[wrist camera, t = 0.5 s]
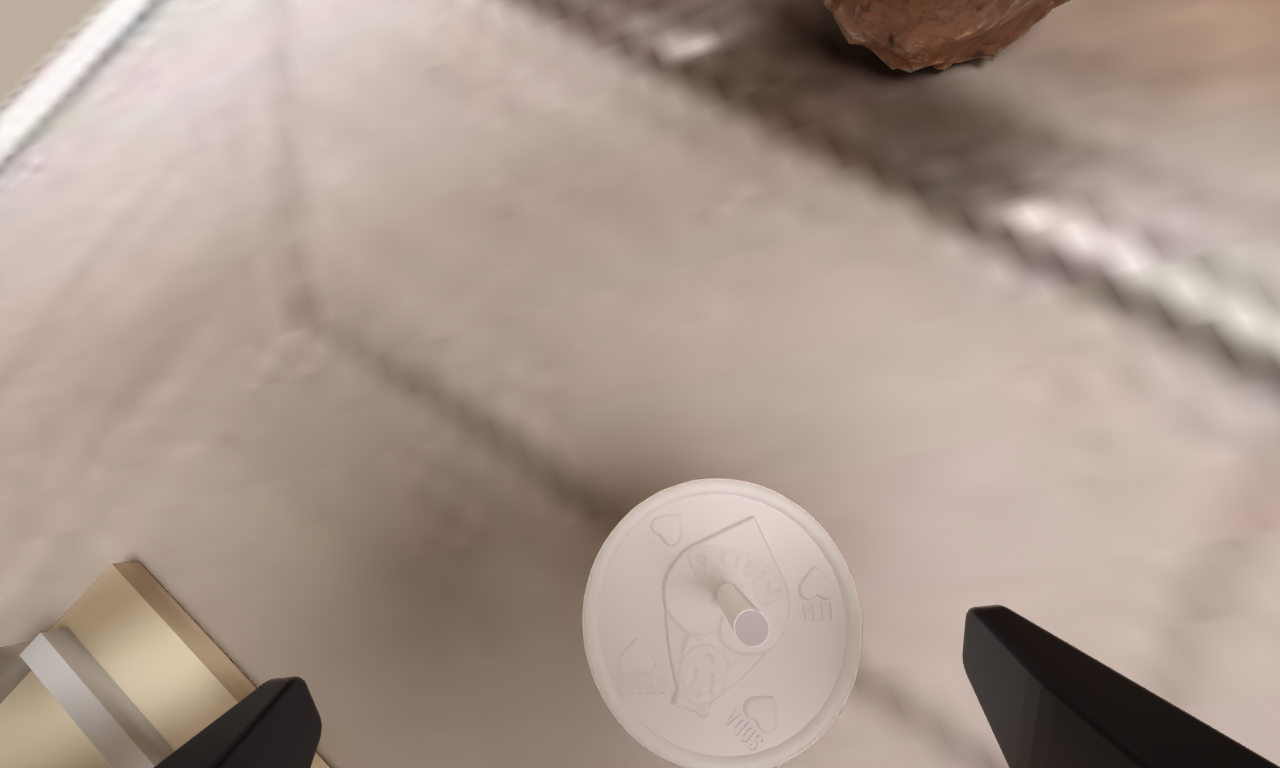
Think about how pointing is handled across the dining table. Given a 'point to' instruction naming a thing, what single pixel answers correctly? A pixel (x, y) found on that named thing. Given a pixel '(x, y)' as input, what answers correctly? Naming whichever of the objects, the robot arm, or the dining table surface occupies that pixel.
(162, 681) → the switch base
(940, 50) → the decorative rock
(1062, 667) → the robot arm
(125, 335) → the dining table surface
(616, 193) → the dining table surface
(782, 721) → the smoothie
